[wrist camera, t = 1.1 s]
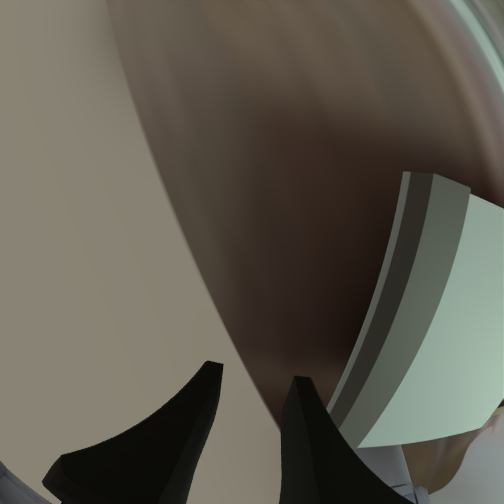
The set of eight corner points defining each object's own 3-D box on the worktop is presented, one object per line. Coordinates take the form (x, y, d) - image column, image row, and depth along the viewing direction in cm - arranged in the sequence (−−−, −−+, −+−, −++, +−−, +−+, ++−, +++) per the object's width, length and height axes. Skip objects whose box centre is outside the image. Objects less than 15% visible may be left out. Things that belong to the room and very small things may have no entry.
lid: (478, 422, 15) (488, 440, 12) (309, 439, 16) (311, 469, 13) (564, 244, 10) (586, 255, 7) (403, 171, 11) (433, 173, 8)
